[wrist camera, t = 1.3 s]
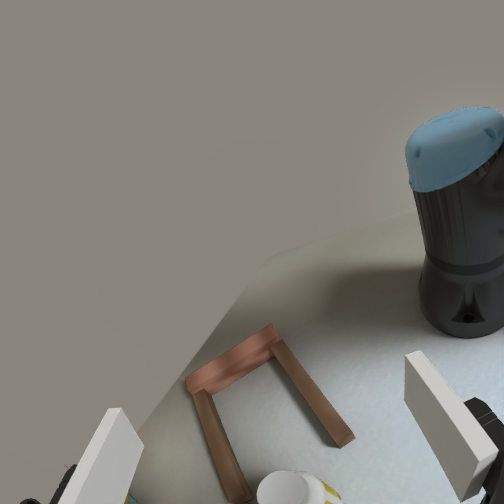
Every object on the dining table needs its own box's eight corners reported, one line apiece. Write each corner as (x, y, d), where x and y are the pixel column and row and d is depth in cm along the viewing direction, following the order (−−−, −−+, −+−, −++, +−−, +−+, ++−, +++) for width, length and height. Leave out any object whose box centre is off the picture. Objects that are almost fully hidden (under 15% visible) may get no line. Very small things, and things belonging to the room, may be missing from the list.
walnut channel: (278, 336, 48) (270, 323, 46) (355, 437, 29) (350, 428, 28) (195, 388, 46) (184, 377, 45) (238, 505, 28) (224, 499, 26)
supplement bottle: (293, 489, 27) (252, 463, 23) (343, 483, 25) (315, 457, 21) (289, 533, 23) (244, 521, 18) (343, 530, 21) (313, 520, 16)
